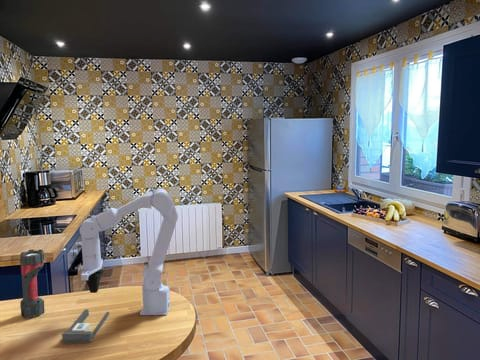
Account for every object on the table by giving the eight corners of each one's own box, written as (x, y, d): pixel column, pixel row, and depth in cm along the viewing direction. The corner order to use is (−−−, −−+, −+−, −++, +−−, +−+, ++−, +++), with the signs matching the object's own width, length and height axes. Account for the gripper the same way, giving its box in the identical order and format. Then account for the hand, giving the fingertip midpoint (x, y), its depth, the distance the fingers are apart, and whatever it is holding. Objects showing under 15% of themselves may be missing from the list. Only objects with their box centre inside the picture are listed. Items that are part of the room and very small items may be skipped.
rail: (109, 314, 132) (108, 306, 131) (90, 342, 115) (89, 333, 114) (85, 314, 132) (84, 306, 131) (62, 343, 115) (61, 334, 114)
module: (90, 333, 120) (89, 322, 119) (85, 340, 116) (84, 328, 115) (78, 333, 120) (77, 322, 119) (72, 340, 116) (71, 328, 115)
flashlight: (54, 310, 135) (49, 249, 131) (35, 321, 128) (29, 257, 124) (38, 307, 138) (33, 247, 134) (19, 317, 130) (13, 254, 127)
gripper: (88, 247, 134) (90, 283, 136) (70, 261, 119) (73, 301, 121) (107, 247, 134) (110, 283, 136) (92, 261, 119) (95, 301, 121)
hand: (94, 292), depth 128 cm, fingers closed
